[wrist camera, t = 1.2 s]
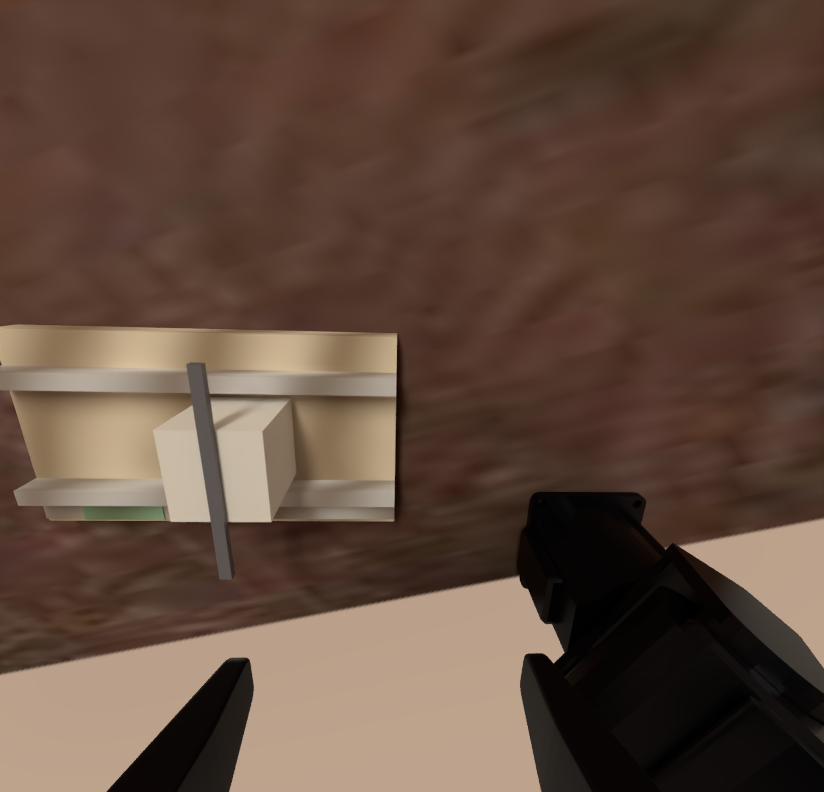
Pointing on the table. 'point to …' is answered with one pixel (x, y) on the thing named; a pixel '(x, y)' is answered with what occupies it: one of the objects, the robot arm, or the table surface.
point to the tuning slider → (226, 461)
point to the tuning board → (170, 395)
